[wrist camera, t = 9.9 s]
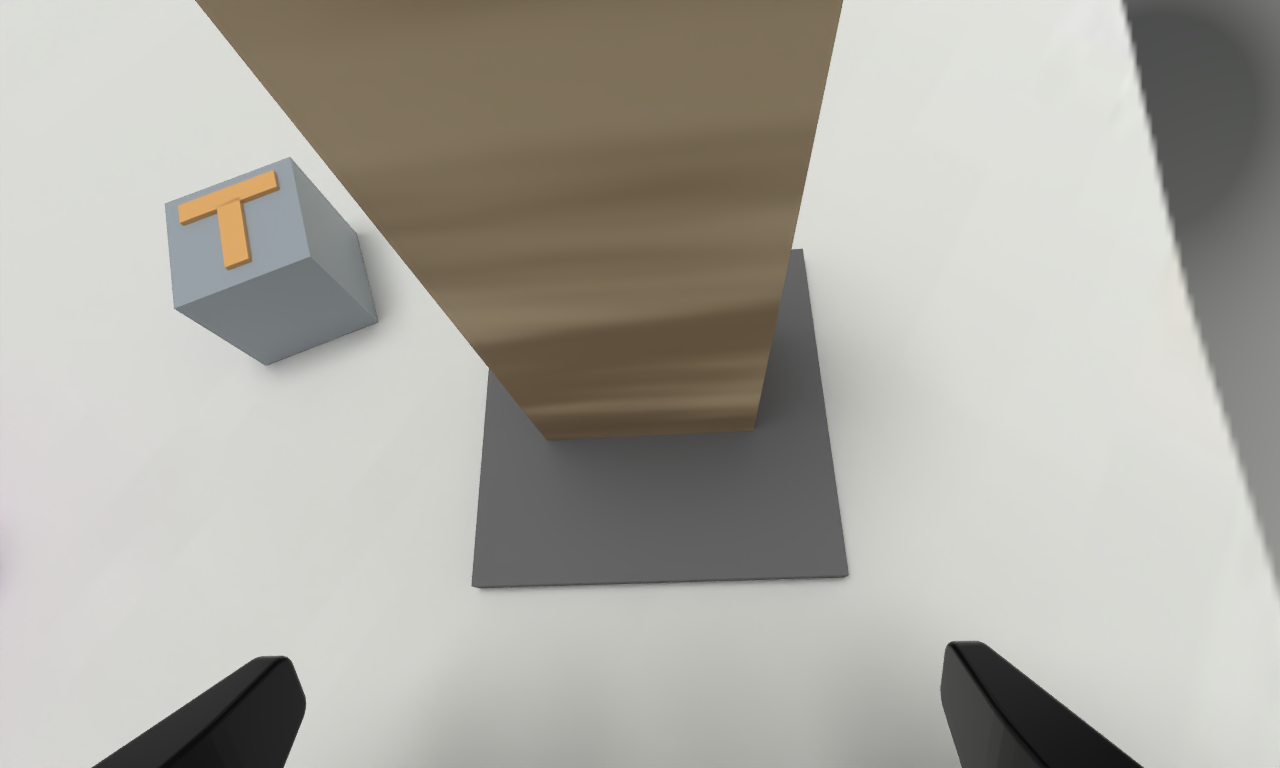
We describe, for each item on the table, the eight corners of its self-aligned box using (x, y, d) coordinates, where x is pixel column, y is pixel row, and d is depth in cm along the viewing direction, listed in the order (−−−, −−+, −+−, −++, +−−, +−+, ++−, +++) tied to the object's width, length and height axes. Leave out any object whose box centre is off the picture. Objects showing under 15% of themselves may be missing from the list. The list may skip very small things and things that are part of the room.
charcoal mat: (844, 577, 17) (848, 574, 16) (479, 587, 18) (471, 586, 17) (799, 259, 21) (802, 248, 20) (502, 280, 21) (496, 271, 21)
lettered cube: (379, 323, 21) (307, 253, 18) (267, 366, 21) (169, 305, 17) (357, 234, 23) (286, 153, 19) (253, 274, 23) (161, 200, 19)
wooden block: (753, 430, 18) (868, -119, 5) (546, 440, 18) (168, -33, 6) (743, 322, 19) (813, -330, 6) (551, 334, 20) (255, -246, 7)
